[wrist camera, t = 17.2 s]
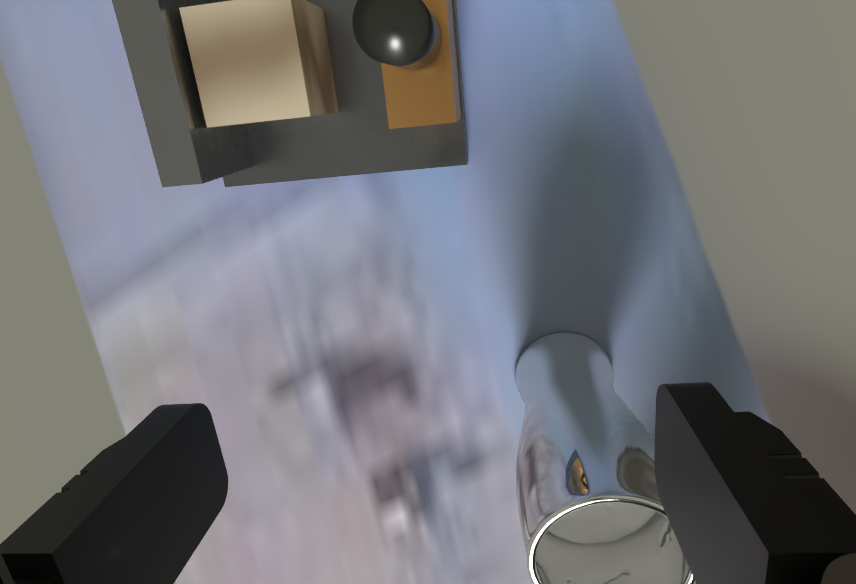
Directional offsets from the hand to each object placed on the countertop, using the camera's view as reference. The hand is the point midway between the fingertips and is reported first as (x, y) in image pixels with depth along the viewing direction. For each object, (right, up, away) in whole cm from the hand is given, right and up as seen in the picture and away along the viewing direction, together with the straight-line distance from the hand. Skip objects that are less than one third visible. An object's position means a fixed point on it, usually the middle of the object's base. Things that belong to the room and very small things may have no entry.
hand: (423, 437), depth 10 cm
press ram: (0, +15, +18) cm, 23 cm away
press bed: (-5, +15, +20) cm, 26 cm away
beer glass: (+9, -3, +25) cm, 27 cm away
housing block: (-7, +14, +19) cm, 25 cm away
